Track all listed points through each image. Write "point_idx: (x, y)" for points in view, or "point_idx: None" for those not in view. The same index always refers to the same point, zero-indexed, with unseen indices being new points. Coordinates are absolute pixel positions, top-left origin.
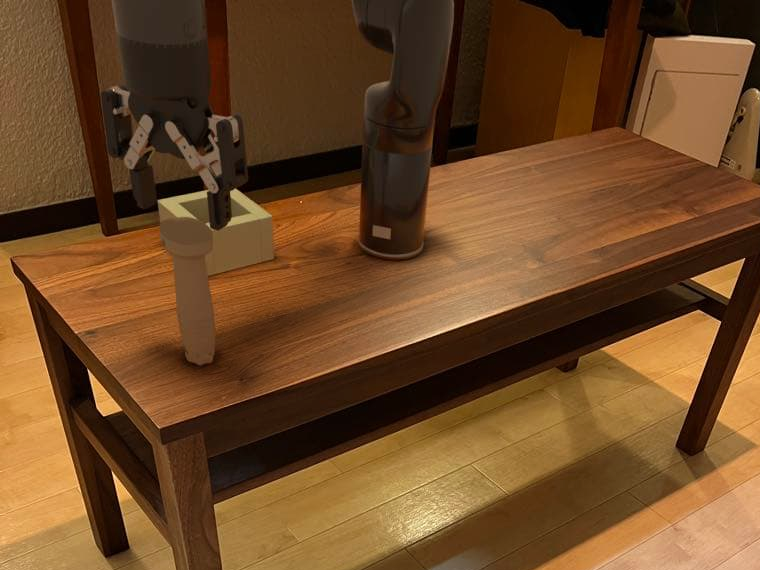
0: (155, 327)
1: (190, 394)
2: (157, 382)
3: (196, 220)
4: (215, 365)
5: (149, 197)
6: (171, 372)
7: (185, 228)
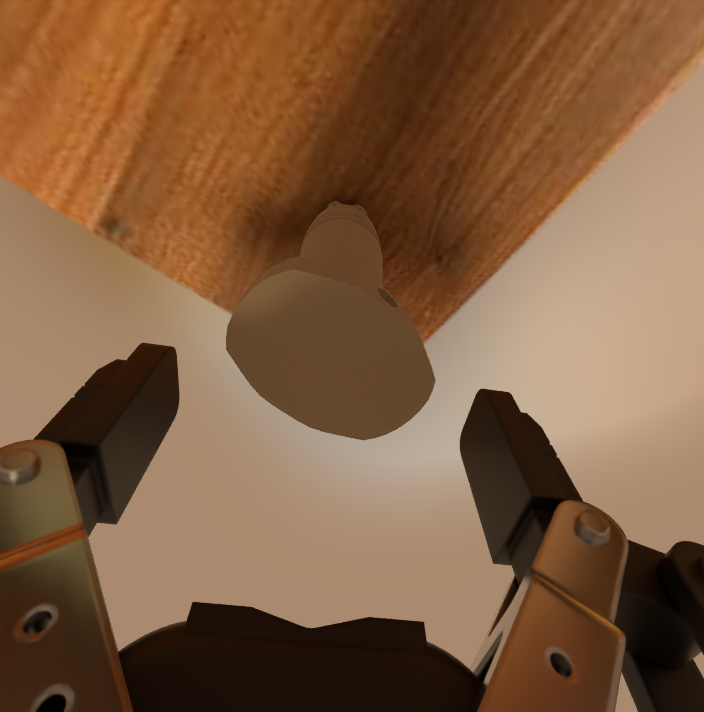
0: (200, 151)
1: None
2: None
3: (328, 286)
4: None
5: (164, 395)
6: None
7: (324, 353)
